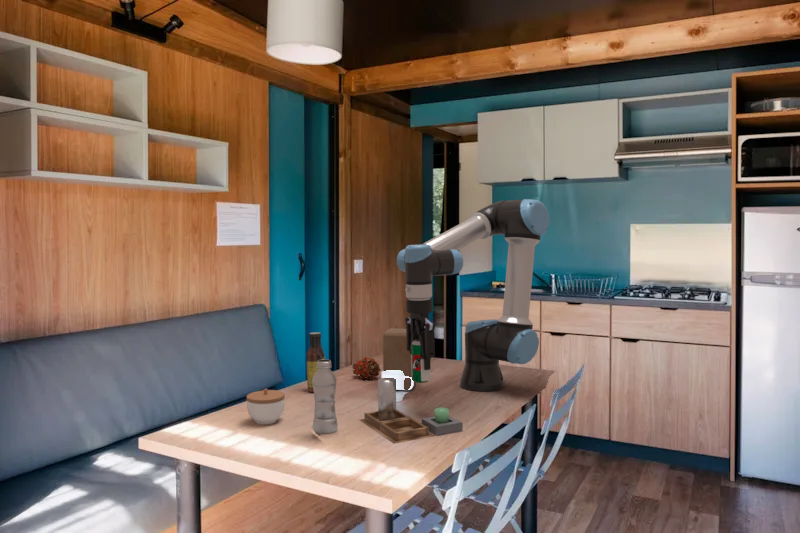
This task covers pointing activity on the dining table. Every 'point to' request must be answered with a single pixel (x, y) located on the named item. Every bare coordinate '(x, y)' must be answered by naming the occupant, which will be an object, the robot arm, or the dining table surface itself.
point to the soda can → (416, 361)
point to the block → (397, 353)
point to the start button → (441, 415)
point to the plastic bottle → (324, 399)
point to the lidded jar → (265, 406)
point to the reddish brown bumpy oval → (366, 368)
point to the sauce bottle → (313, 357)
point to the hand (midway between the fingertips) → (421, 378)
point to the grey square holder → (443, 426)
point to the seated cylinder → (386, 399)
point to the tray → (397, 427)
